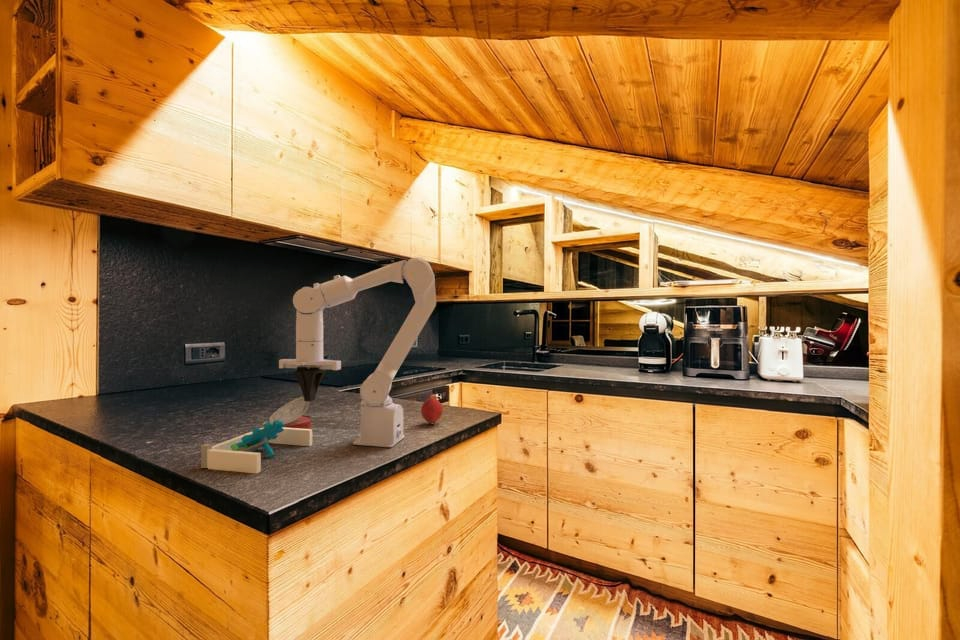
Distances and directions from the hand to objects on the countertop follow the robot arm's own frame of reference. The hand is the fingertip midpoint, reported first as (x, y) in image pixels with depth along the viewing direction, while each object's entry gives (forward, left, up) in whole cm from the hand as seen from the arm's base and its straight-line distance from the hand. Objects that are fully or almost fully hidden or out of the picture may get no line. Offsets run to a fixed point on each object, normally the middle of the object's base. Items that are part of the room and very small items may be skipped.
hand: (309, 400), depth 92 cm
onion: (-22, -22, -10) cm, 33 cm away
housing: (+6, +9, -10) cm, 14 cm away
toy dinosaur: (+6, +9, -10) cm, 15 cm away
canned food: (+11, -8, -10) cm, 17 cm away
